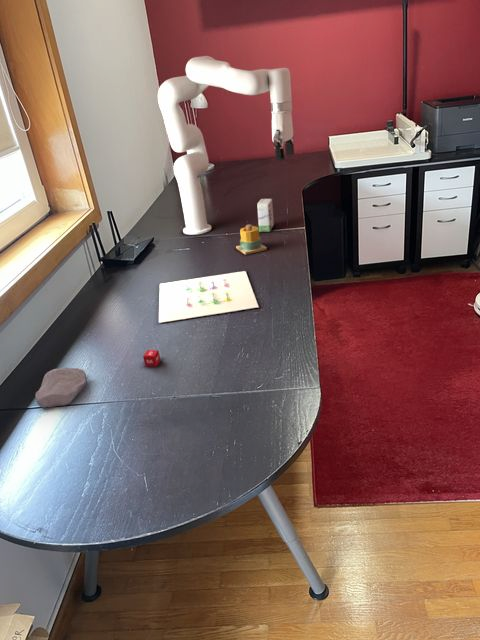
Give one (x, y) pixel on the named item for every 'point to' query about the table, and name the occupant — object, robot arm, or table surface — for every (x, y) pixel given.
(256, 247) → the stacking peg
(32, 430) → the table surface
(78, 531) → the table surface
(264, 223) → the ink box
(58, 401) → the stone block
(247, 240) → the ring
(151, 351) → the dice
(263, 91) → the robot arm
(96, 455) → the table surface
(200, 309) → the printed paper
